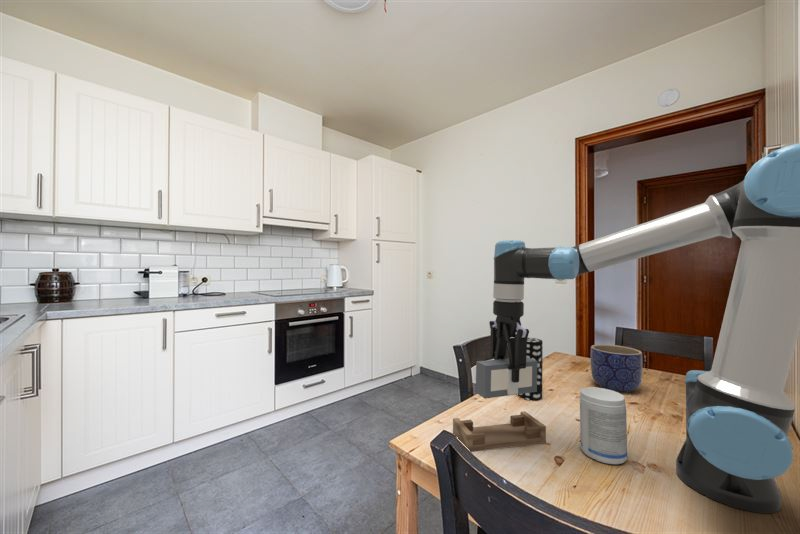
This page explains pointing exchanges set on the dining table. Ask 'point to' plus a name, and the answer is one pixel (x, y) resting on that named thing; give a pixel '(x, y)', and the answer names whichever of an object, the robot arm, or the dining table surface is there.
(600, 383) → the planter
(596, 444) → the supplement tub
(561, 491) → the dining table surface
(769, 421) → the robot arm
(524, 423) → the tray
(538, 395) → the spotted tube
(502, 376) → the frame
